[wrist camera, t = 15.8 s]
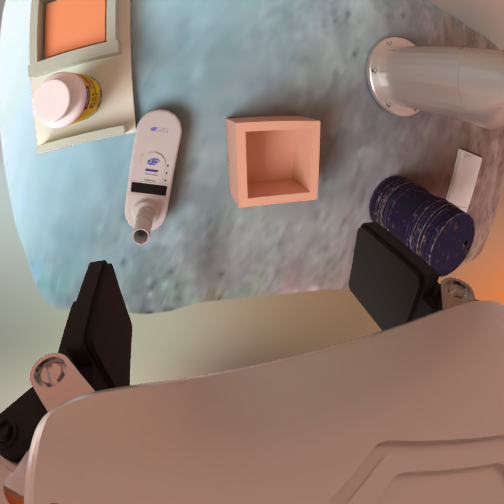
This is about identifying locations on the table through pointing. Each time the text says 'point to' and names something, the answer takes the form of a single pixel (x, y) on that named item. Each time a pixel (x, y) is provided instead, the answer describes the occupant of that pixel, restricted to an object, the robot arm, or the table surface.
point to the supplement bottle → (66, 99)
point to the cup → (273, 159)
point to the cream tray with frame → (92, 64)
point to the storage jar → (423, 222)
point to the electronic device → (152, 172)
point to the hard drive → (463, 179)
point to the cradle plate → (74, 25)
